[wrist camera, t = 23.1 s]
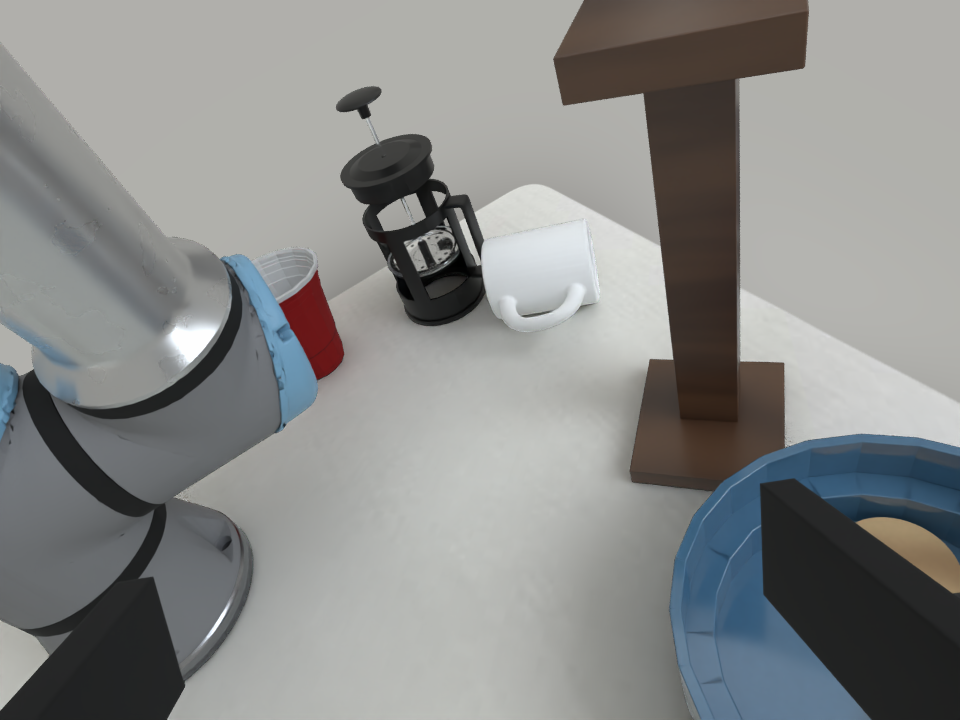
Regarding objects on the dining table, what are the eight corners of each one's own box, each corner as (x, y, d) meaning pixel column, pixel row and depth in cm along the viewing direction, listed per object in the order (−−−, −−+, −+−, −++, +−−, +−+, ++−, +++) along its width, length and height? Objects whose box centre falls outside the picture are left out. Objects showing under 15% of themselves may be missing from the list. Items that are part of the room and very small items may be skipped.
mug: (505, 284, 66) (483, 223, 60) (597, 267, 63) (584, 201, 57) (498, 365, 57) (473, 303, 52) (605, 349, 55) (590, 281, 49)
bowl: (659, 846, 30) (644, 823, 26) (695, 481, 43) (690, 422, 38) (1278, 1063, 21) (1430, 1089, 17) (1092, 523, 34) (1148, 452, 30)
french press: (388, 327, 66) (281, 131, 51) (415, 272, 72) (326, 81, 57) (488, 323, 62) (404, 107, 46) (508, 265, 68) (440, 55, 52)
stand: (783, 499, 40) (826, 12, 20) (632, 482, 45) (537, 65, 24) (783, 375, 47) (815, -86, 27) (651, 370, 51) (590, -30, 31)
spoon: (1001, 899, 25) (1013, 896, 24) (836, 842, 28) (839, 837, 27) (949, 539, 35) (955, 525, 34) (830, 522, 38) (832, 509, 37)
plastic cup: (382, 324, 67) (333, 236, 59) (340, 400, 60) (278, 312, 52) (304, 325, 72) (248, 243, 63) (257, 396, 65) (188, 314, 57)
